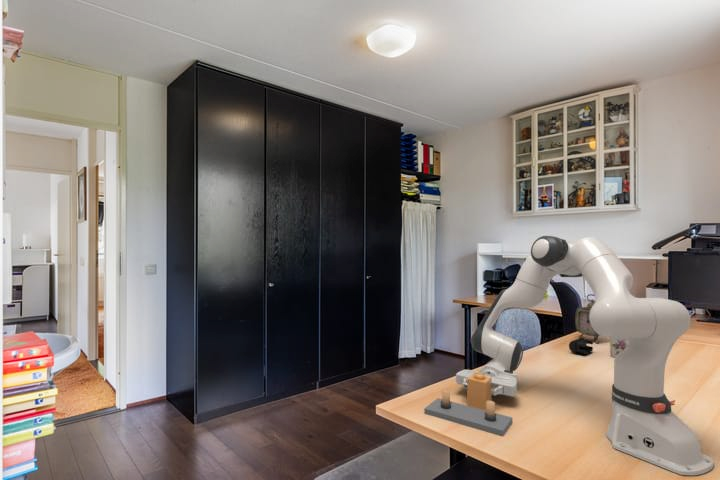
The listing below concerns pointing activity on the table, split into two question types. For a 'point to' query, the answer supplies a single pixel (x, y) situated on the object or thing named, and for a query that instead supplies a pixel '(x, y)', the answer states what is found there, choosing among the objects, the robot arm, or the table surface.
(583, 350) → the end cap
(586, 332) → the tabletop clock
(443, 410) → the mounting plate
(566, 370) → the table surface
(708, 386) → the table surface
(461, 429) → the table surface
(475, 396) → the orange toy brick
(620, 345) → the decorative jar
